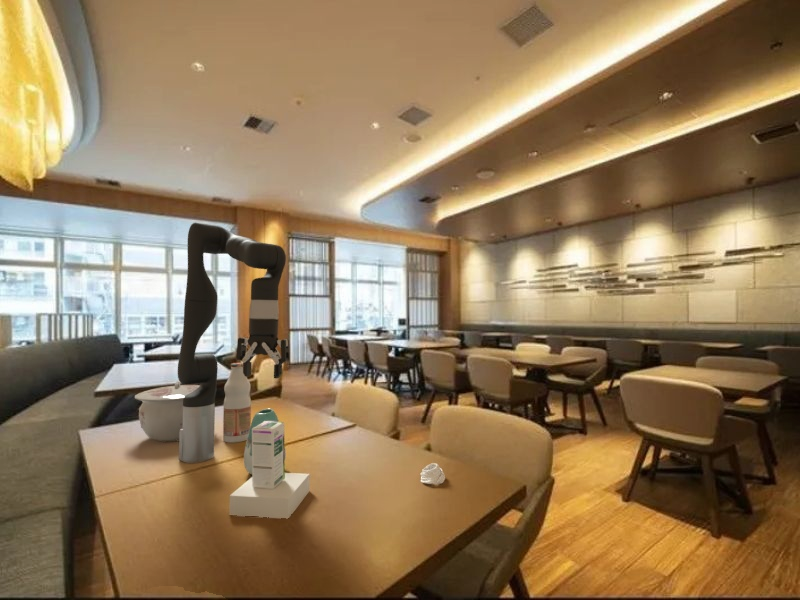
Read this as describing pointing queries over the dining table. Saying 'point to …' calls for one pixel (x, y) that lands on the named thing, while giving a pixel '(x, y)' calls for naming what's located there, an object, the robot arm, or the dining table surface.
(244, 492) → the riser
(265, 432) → the syrup box
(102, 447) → the dining table surface
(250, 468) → the vase
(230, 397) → the fruit juice
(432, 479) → the whipped cream
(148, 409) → the chamber pot
